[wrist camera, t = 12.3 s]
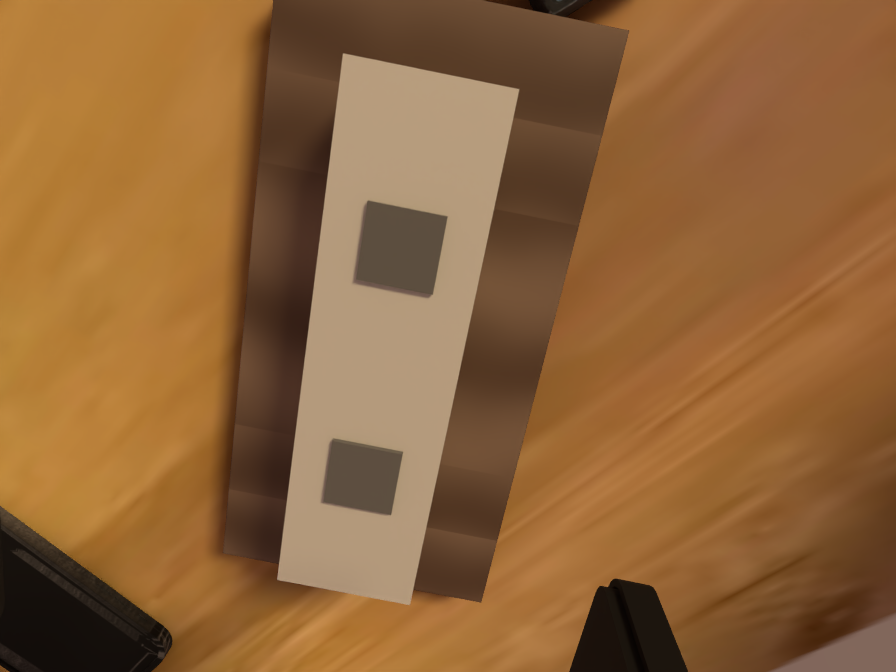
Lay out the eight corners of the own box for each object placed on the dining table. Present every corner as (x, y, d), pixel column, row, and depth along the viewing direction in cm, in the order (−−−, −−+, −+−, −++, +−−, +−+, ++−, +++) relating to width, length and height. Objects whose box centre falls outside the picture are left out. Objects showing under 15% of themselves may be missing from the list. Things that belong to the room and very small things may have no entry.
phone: (91, 727, 32) (-153, 562, 29) (104, 708, 33) (-131, 548, 30) (175, 649, 30) (-78, 465, 27) (185, 632, 31) (-57, 453, 28)
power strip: (506, 109, 22) (519, 88, 16) (424, 504, 27) (409, 609, 21) (379, 83, 22) (341, 51, 16) (321, 484, 27) (275, 583, 21)
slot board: (296, -23, 21) (277, -43, 19) (613, 43, 21) (629, 30, 19) (241, 523, 28) (223, 553, 26) (480, 569, 28) (480, 602, 26)
